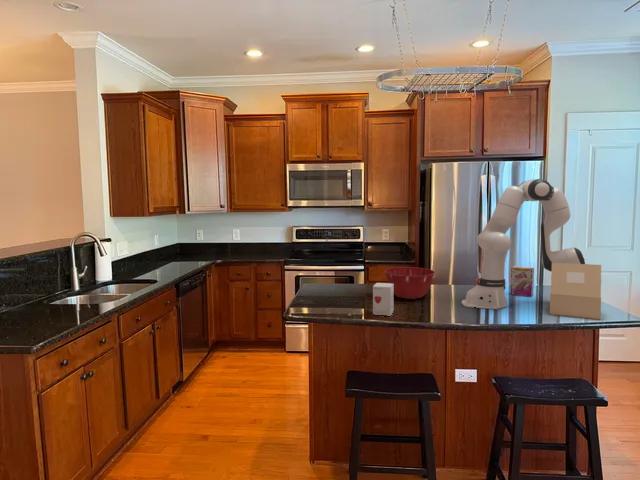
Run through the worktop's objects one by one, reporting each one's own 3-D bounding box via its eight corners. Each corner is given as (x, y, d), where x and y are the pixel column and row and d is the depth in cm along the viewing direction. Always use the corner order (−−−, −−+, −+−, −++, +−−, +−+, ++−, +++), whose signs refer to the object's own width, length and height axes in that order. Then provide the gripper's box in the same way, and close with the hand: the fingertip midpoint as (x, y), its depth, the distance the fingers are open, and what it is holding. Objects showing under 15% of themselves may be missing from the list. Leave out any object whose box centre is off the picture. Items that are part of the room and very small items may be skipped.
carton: (551, 306, 209) (551, 287, 209) (598, 311, 199) (599, 291, 198) (549, 314, 196) (550, 293, 195) (600, 319, 185) (601, 298, 185)
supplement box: (372, 315, 201) (372, 285, 200) (376, 311, 210) (376, 282, 208) (390, 317, 198) (390, 286, 197) (394, 312, 206) (393, 283, 205)
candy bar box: (510, 295, 237) (510, 267, 236) (512, 293, 241) (513, 265, 240) (531, 297, 230) (532, 268, 229) (533, 295, 234) (534, 267, 233)
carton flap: (551, 262, 197) (551, 262, 196) (601, 265, 187) (601, 264, 186) (550, 294, 195) (550, 293, 194) (600, 298, 185) (600, 298, 184)
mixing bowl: (445, 297, 236) (445, 270, 235) (412, 305, 219) (412, 277, 218) (407, 289, 259) (407, 265, 257) (374, 296, 242) (374, 270, 240)
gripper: (551, 269, 208) (550, 274, 196) (599, 271, 197) (602, 276, 185) (550, 281, 208) (550, 287, 196) (599, 284, 198) (602, 290, 186)
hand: (576, 282), depth 191 cm, fingers closed, pressing on carton flap
